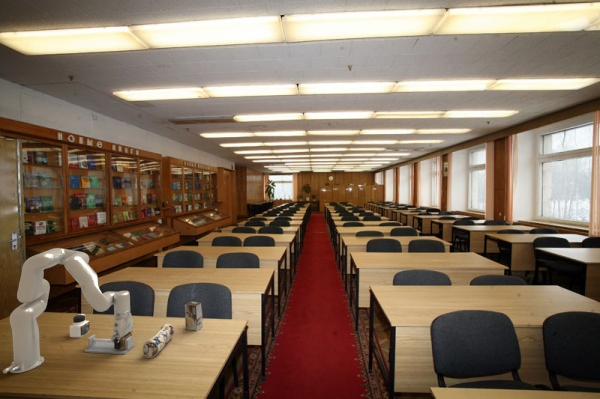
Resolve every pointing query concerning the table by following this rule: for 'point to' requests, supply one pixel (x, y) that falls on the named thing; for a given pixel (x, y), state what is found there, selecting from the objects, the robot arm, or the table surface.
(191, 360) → the table surface
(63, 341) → the table surface
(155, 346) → the pencil case
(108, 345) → the rail
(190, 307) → the coffee box
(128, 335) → the keeper
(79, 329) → the medicine bottle
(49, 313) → the table surface
